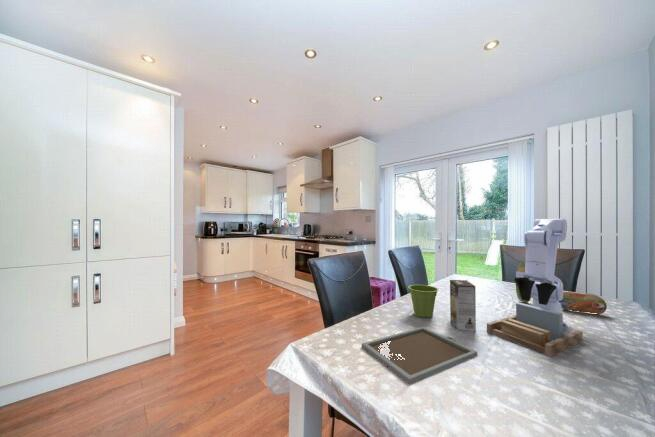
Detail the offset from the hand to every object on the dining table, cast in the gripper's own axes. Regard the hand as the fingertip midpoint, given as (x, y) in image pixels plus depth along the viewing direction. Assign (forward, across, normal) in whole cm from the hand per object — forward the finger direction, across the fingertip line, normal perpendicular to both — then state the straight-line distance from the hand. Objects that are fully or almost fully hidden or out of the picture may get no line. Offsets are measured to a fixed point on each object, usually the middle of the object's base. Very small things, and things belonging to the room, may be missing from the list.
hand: (534, 302), depth 81 cm
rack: (+11, +1, 0) cm, 11 cm away
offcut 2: (+12, -2, 0) cm, 12 cm away
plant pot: (+14, -24, +26) cm, 38 cm away
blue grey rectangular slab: (+10, +4, +1) cm, 11 cm away
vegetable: (0, +32, +28) cm, 43 cm away
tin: (-1, +44, +14) cm, 46 cm away
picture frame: (+22, -40, +1) cm, 46 cm away
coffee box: (+14, -16, +13) cm, 25 cm away
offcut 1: (+13, -6, -1) cm, 14 cm away
